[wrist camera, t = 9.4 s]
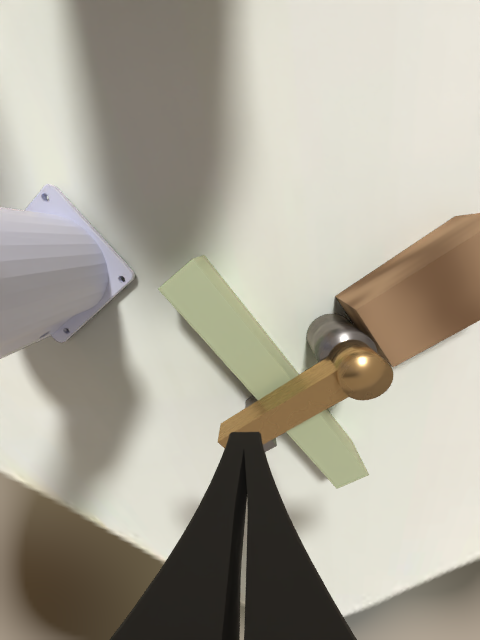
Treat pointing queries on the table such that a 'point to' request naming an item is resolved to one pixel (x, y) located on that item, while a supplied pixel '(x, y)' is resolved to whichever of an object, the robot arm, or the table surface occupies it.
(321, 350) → the pivot post and stop
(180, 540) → the robot arm
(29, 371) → the table surface
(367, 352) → the latch bar
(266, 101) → the table surface
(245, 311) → the pale green bar
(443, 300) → the block
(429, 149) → the table surface
